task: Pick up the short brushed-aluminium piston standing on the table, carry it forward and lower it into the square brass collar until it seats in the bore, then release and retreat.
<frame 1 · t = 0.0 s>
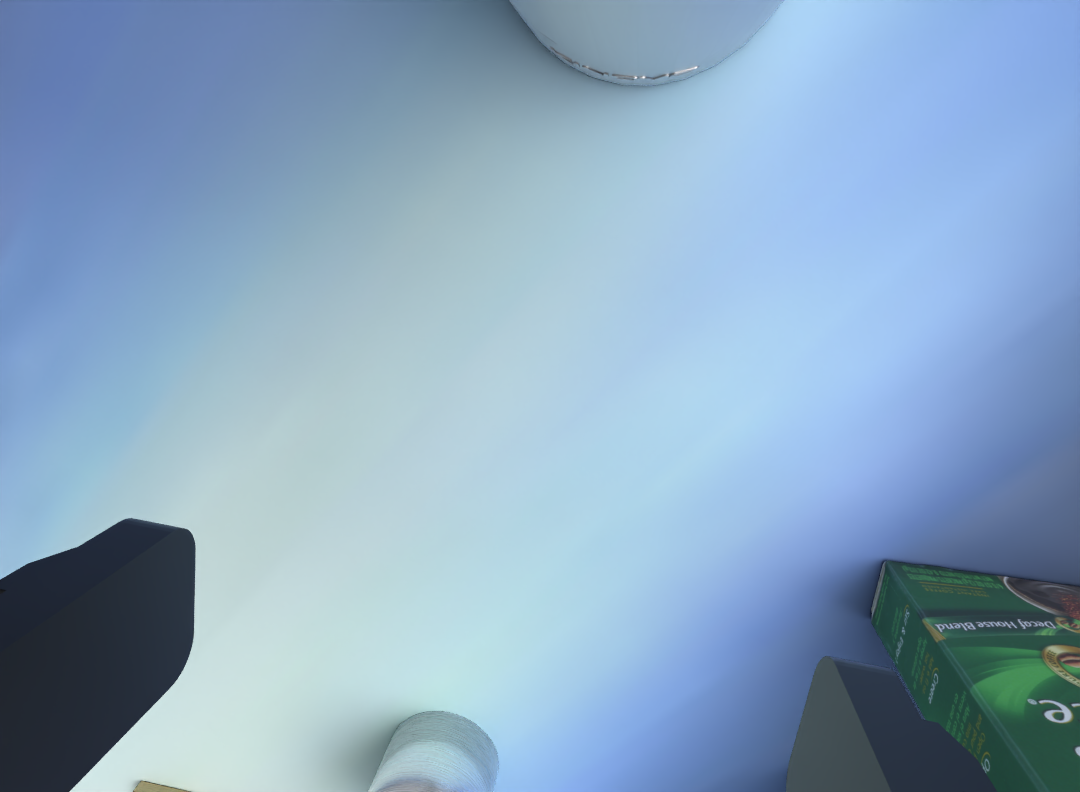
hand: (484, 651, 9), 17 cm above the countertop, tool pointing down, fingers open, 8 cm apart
piston: (443, 757, 31), on the countertop
coffee box: (986, 600, 26), on the countertop
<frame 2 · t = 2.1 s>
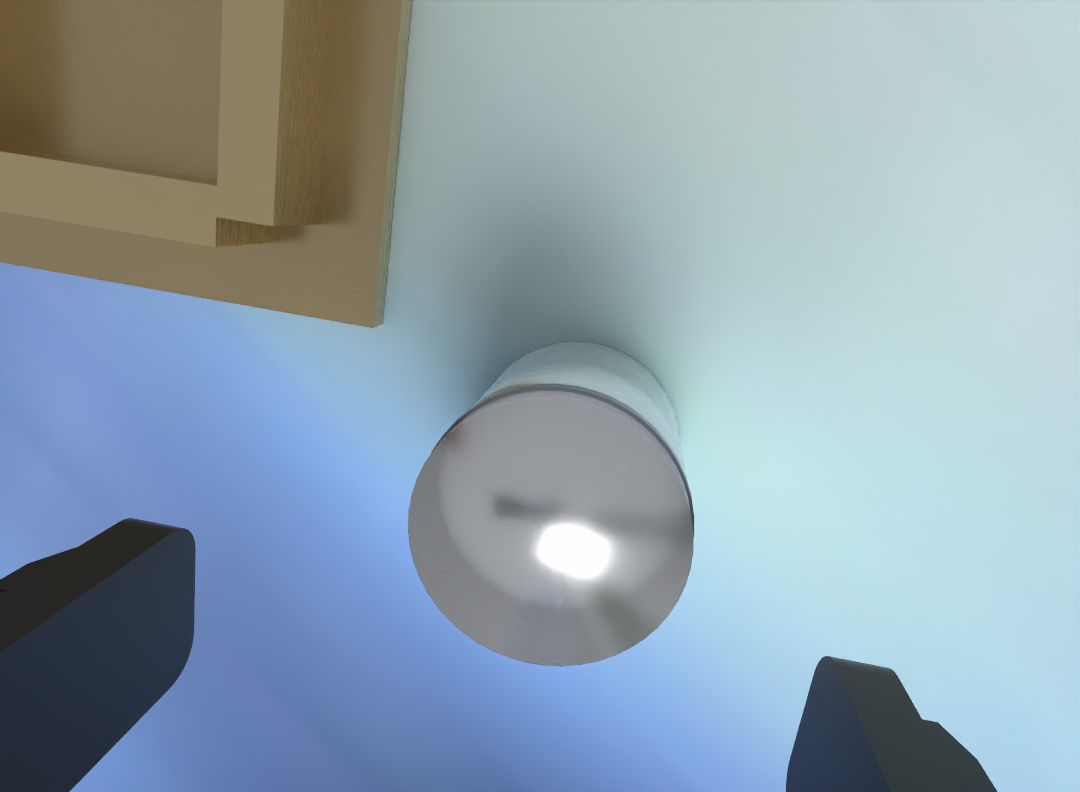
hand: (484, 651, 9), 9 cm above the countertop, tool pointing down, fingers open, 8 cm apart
piston: (577, 441, 17), on the countertop
collar: (149, 15, 16), on the countertop
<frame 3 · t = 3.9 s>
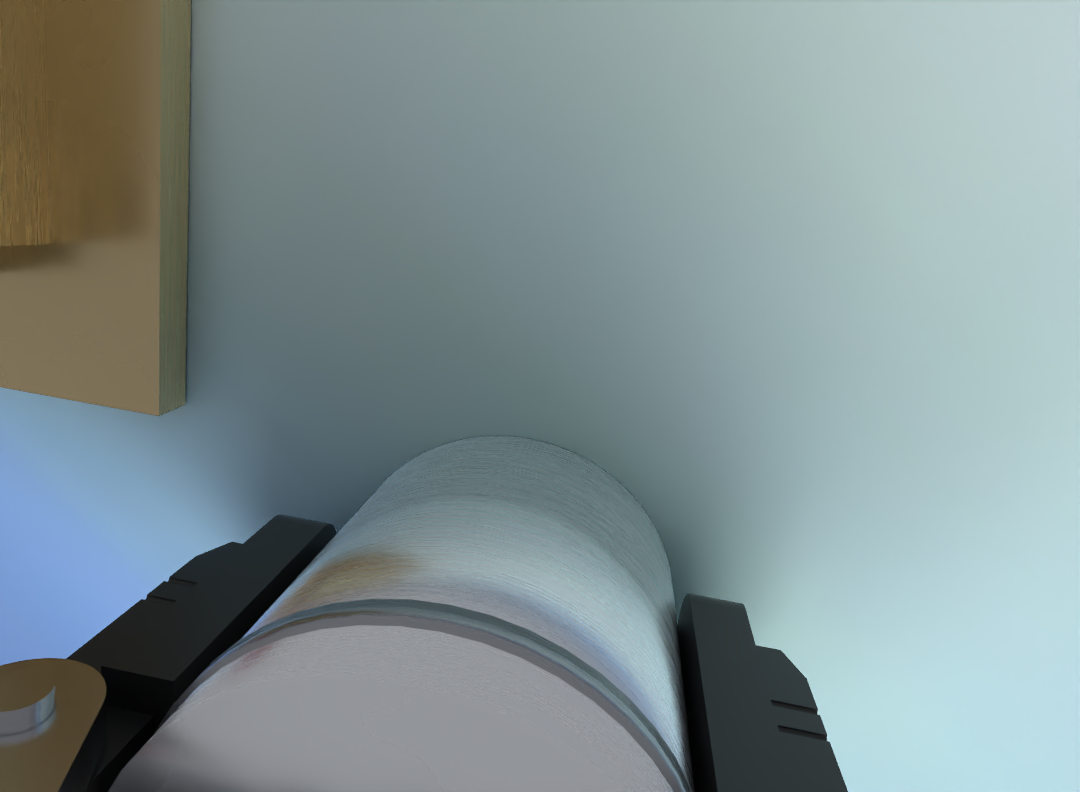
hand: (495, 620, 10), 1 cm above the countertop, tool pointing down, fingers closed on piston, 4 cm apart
piston: (505, 593, 11), on the countertop, touching gripper
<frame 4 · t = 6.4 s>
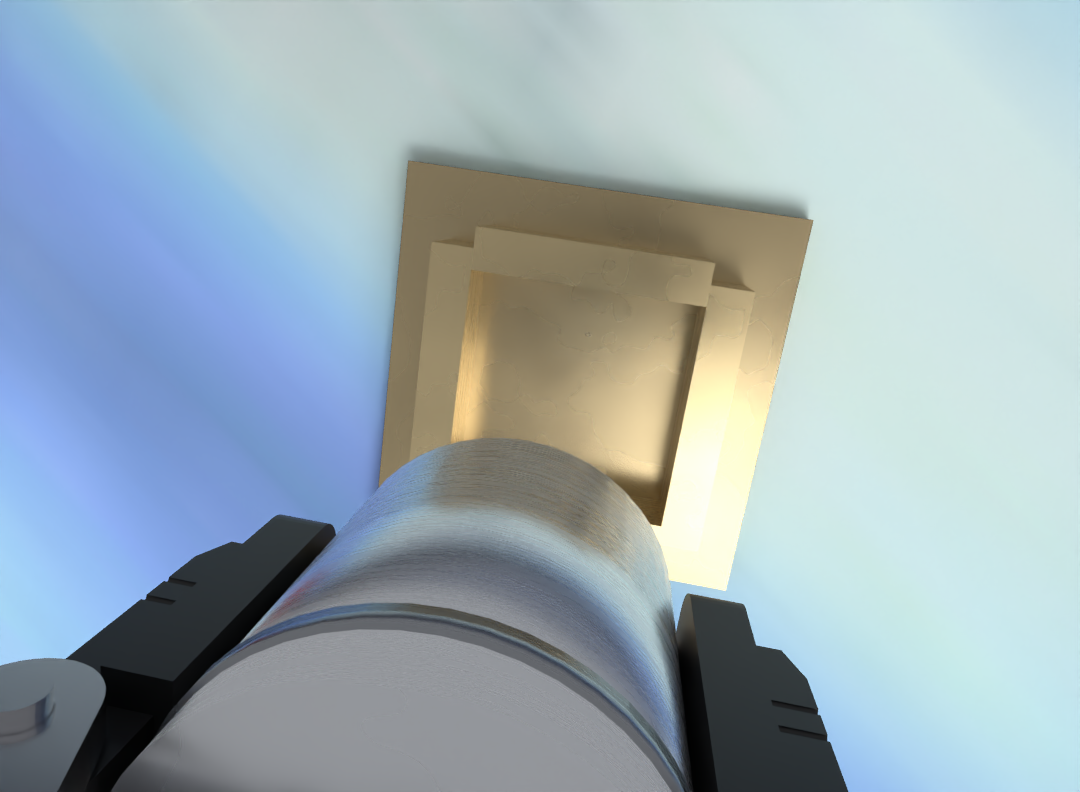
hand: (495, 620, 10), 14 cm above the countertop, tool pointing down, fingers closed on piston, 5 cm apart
piston: (503, 595, 11), point 13 cm above the countertop, touching gripper
collar: (575, 381, 24), on the countertop
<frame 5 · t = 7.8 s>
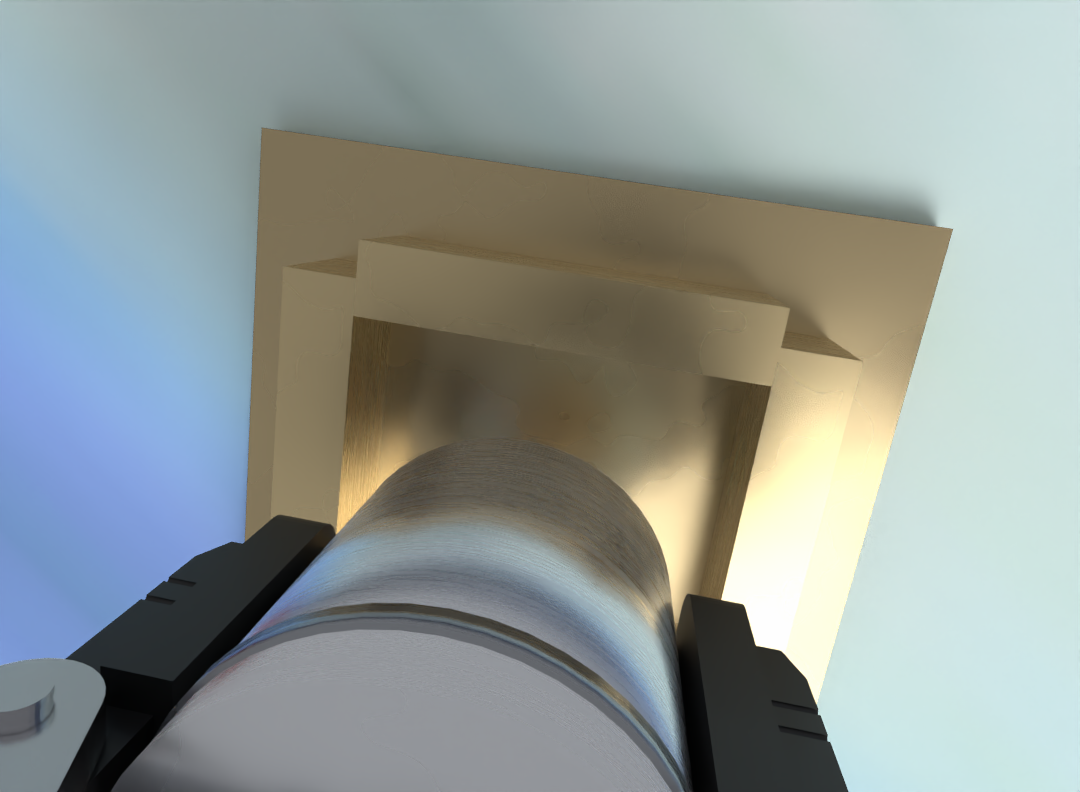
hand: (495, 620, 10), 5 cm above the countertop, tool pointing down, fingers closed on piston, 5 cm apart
piston: (503, 595, 11), point 4 cm above the countertop, touching gripper
collar: (546, 485, 15), on the countertop
when the fingers open (3 cm above the countertop, at t = 9.2 s): piston drops 1 cm, resting on collar.
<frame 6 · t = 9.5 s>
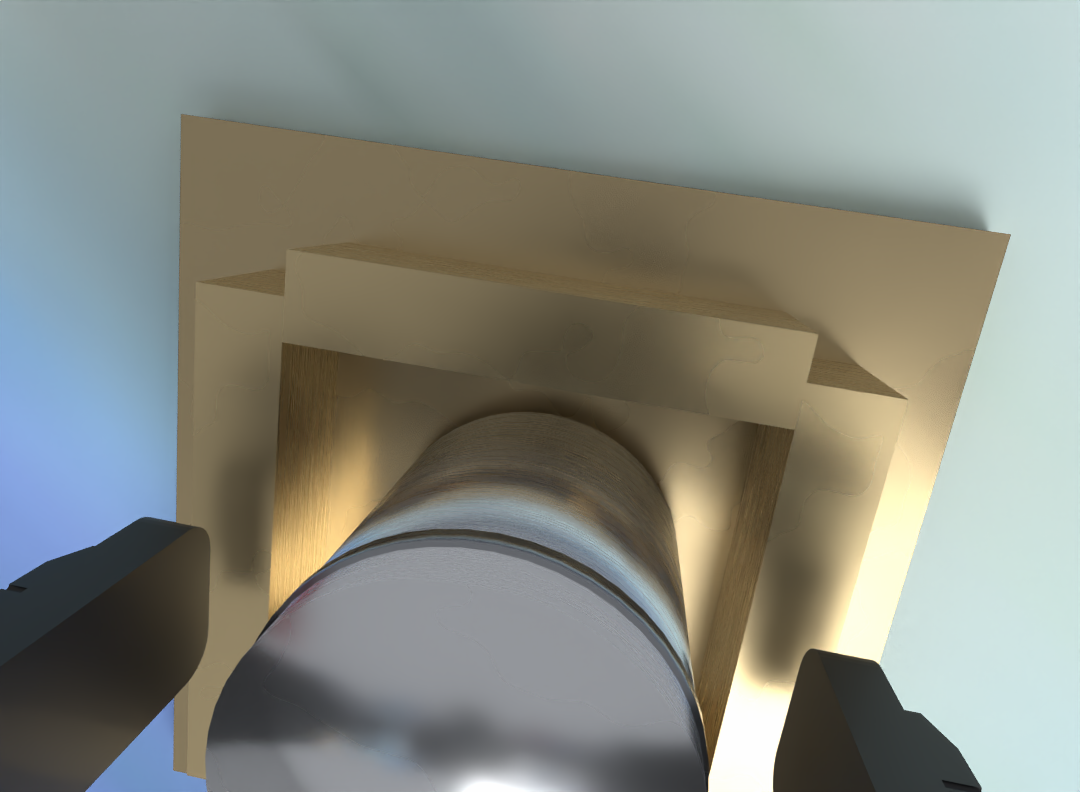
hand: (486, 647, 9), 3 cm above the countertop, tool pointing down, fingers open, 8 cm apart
piston: (529, 552, 12), point 1 cm above the countertop, touching collar
collar: (524, 533, 13), on the countertop
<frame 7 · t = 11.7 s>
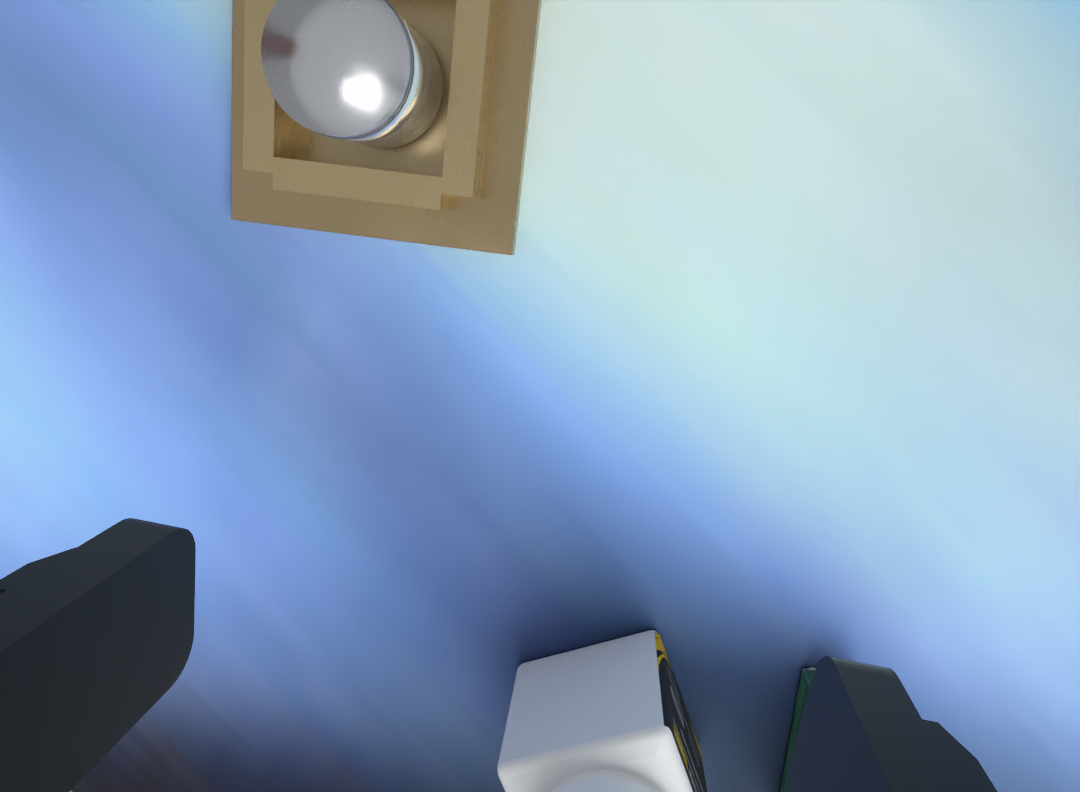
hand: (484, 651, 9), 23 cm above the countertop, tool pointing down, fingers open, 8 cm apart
piston: (382, 84, 29), point 1 cm above the countertop, touching collar
medicine bottle: (608, 703, 36), on the countertop
collar: (383, 85, 29), on the countertop
coffee box: (814, 736, 35), on the countertop
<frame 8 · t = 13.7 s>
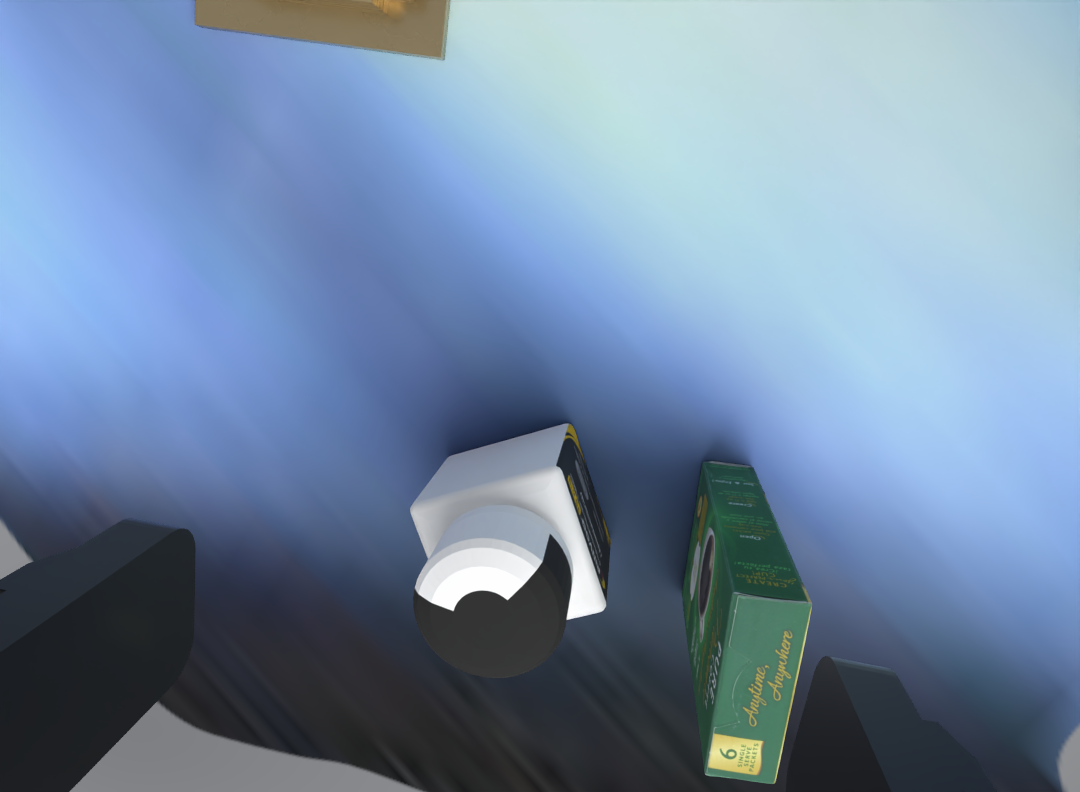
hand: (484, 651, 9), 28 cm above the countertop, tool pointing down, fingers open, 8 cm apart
medicine bottle: (529, 497, 39), on the countertop
coffee box: (716, 531, 38), on the countertop
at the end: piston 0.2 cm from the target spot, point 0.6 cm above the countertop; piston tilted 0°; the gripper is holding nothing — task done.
